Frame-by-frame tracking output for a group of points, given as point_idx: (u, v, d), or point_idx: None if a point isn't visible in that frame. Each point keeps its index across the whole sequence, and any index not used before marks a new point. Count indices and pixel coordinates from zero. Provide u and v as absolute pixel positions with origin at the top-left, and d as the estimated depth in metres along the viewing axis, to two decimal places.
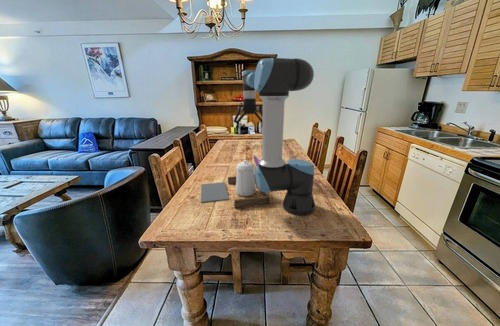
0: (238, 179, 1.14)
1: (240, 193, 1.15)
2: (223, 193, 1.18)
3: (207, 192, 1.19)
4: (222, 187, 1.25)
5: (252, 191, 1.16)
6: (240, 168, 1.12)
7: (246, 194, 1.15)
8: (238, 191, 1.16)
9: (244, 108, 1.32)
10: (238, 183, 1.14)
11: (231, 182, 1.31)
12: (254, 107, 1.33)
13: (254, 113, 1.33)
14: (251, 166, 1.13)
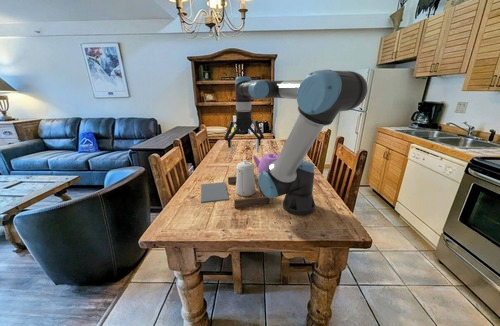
0: (238, 179, 1.14)
1: (240, 193, 1.15)
2: (223, 193, 1.18)
3: (207, 192, 1.19)
4: (222, 187, 1.25)
5: (252, 191, 1.16)
6: (240, 168, 1.12)
7: (246, 194, 1.15)
8: (238, 191, 1.16)
9: (237, 123, 1.06)
10: (238, 183, 1.14)
11: (231, 182, 1.31)
12: (249, 122, 1.07)
13: None
14: (251, 166, 1.13)
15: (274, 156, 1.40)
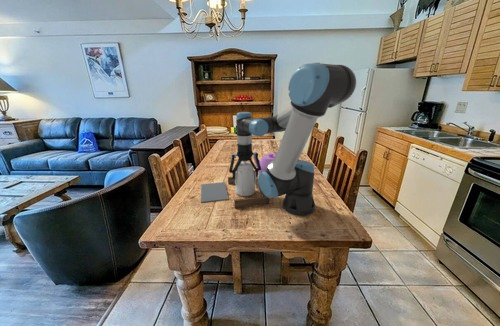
0: (238, 179, 1.14)
1: (240, 193, 1.15)
2: (223, 193, 1.18)
3: (207, 192, 1.19)
4: (222, 187, 1.25)
5: (252, 191, 1.16)
6: (240, 168, 1.12)
7: (246, 194, 1.15)
8: (238, 191, 1.16)
9: (238, 155, 1.11)
10: (238, 183, 1.14)
11: (231, 182, 1.31)
12: (250, 153, 1.12)
13: (249, 160, 1.13)
14: (251, 166, 1.13)
15: (274, 156, 1.40)
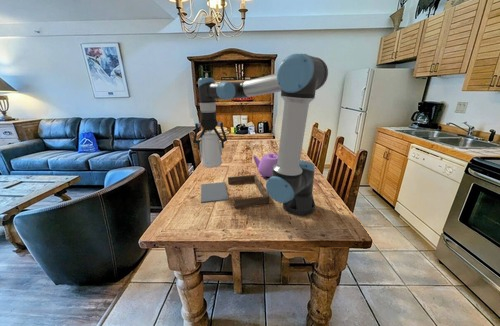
0: (202, 149, 1.11)
1: (205, 164, 1.12)
2: (223, 193, 1.18)
3: (207, 192, 1.19)
4: (222, 187, 1.25)
5: (217, 162, 1.12)
6: (204, 137, 1.08)
7: (211, 165, 1.11)
8: (203, 162, 1.12)
9: (202, 124, 1.08)
10: (203, 153, 1.11)
11: (231, 182, 1.31)
12: (214, 122, 1.09)
13: (214, 130, 1.09)
14: (215, 136, 1.09)
15: (274, 156, 1.40)
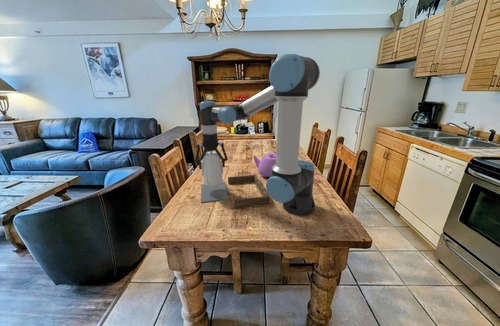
0: (204, 169, 1.14)
1: (206, 183, 1.15)
2: (223, 193, 1.18)
3: (207, 192, 1.19)
4: (222, 187, 1.25)
5: (218, 181, 1.16)
6: (205, 158, 1.12)
7: (212, 184, 1.15)
8: (204, 181, 1.16)
9: (203, 145, 1.11)
10: (204, 173, 1.14)
11: (231, 182, 1.31)
12: (216, 143, 1.12)
13: (215, 150, 1.13)
14: (216, 156, 1.13)
15: (274, 156, 1.40)
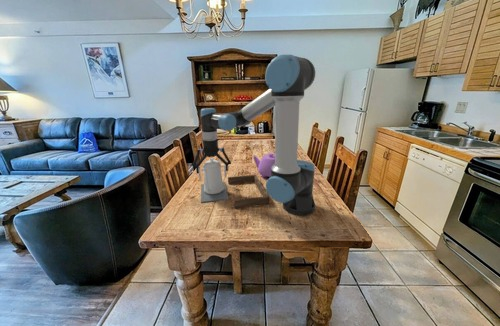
0: (205, 177, 1.16)
1: (207, 191, 1.17)
2: (223, 193, 1.18)
3: None
4: None
5: (219, 189, 1.17)
6: (206, 166, 1.13)
7: (213, 192, 1.16)
8: (205, 189, 1.17)
9: (204, 151, 1.12)
10: (205, 181, 1.16)
11: (231, 182, 1.31)
12: (216, 149, 1.13)
13: None
14: (217, 164, 1.14)
15: (274, 156, 1.40)
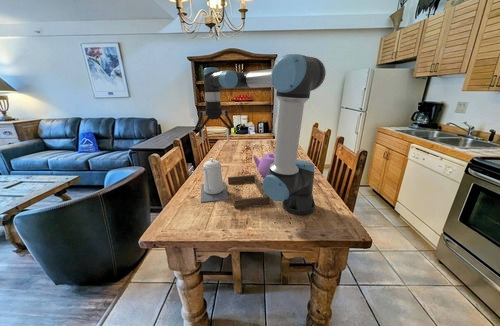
0: (205, 177, 1.16)
1: (207, 191, 1.17)
2: (223, 193, 1.18)
3: None
4: None
5: (219, 189, 1.17)
6: (206, 166, 1.13)
7: (213, 192, 1.16)
8: (205, 189, 1.17)
9: (207, 113, 1.11)
10: (205, 181, 1.16)
11: (231, 182, 1.31)
12: (219, 111, 1.12)
13: None
14: (217, 164, 1.14)
15: (274, 156, 1.40)
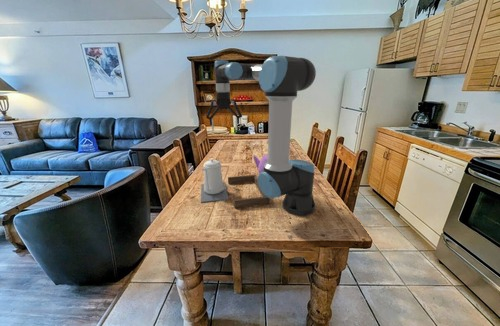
0: (205, 177, 1.16)
1: (207, 191, 1.17)
2: (223, 193, 1.18)
3: None
4: None
5: (219, 189, 1.17)
6: (206, 166, 1.13)
7: (213, 192, 1.16)
8: (205, 189, 1.17)
9: (217, 103, 1.19)
10: (205, 181, 1.16)
11: (231, 182, 1.31)
12: (228, 102, 1.20)
13: None
14: (217, 164, 1.14)
15: None
